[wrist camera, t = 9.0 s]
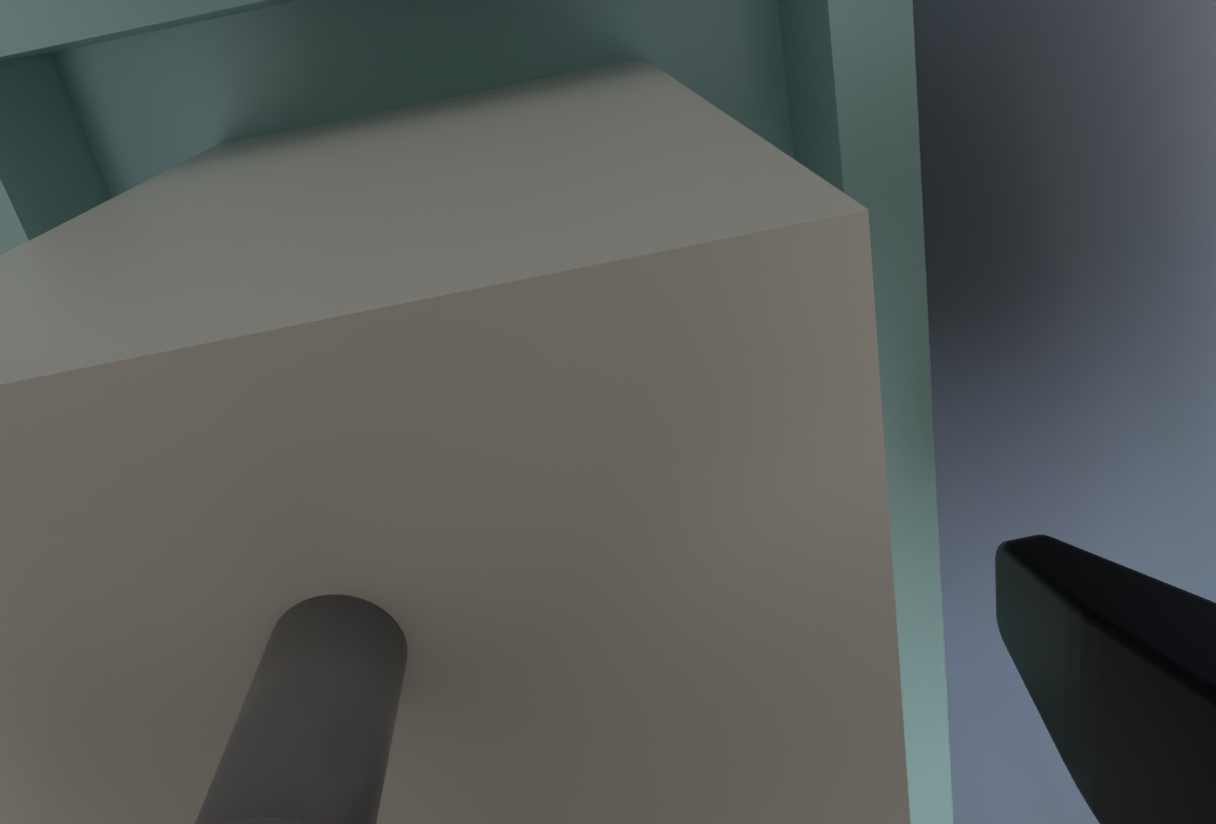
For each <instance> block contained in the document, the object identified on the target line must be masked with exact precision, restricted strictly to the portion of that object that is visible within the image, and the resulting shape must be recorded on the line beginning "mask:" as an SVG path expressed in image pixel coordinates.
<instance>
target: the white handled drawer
mask: <svg viewBox="0 0 1216 824" xmlns="http://www.w3.org/2000/svg"><path fill="white" fill-rule="evenodd" d="M0 824H911V822H910V808H909V793H908V779H907V764H906V750H905V735H904V721H903V706H902V692H901V677H900V663H899V648H898V634H897V619H896V605H895V590H894V576H893V561H892V546H891V532H890V517H889V503H888V488H887V474H886V459H885V445H884V430H883V416H882V401H881V387H880V372H879V358H878V343H877V329H876V314H875V300H874V285H873V271H872V256H871V242H870V227H869V213H868V209H867V208H866V207H864V206H863V205H861V204H860V203H858V202H857V201H855V200H854V199H852V198H851V197H849V196H848V195H846V194H845V193H843V192H842V191H840V190H839V189H837V188H836V187H834V186H833V185H831V184H830V183H828V182H827V181H825V180H824V179H822V178H821V177H820V176H818V175H817V174H815V173H814V172H812V171H811V170H809V169H808V168H806V167H805V166H803V165H802V164H800V163H799V162H797V161H796V160H794V159H793V158H791V157H790V156H788V155H787V154H785V153H784V152H782V151H781V150H779V149H778V148H776V147H775V146H773V145H772V144H771V143H769V142H768V141H766V140H765V139H763V138H762V137H760V136H759V135H757V134H756V133H754V132H753V131H751V130H750V129H748V128H747V127H745V126H744V125H742V124H741V123H739V122H738V121H736V120H735V119H733V118H732V117H730V116H729V115H727V114H726V113H724V112H723V111H722V110H720V109H719V108H717V107H716V106H714V105H713V104H711V103H710V102H708V101H707V100H705V99H704V98H702V97H701V96H699V95H698V94H696V93H695V92H693V91H692V90H690V89H689V88H687V87H686V86H684V85H683V84H681V83H680V82H678V81H677V80H675V79H674V78H673V77H671V76H670V75H668V74H667V73H665V72H664V71H662V70H661V69H659V68H658V67H656V66H655V65H653V64H652V63H650V62H649V61H647V60H646V59H644V58H639V59H634V60H629V61H624V62H620V63H615V64H610V65H605V66H600V67H595V68H590V69H585V70H580V71H576V72H571V73H566V74H561V75H556V76H551V77H546V78H541V79H536V80H531V81H527V82H522V83H517V84H512V85H507V86H502V87H497V88H492V89H487V90H483V91H478V92H473V93H468V94H463V95H458V96H453V97H448V98H443V99H439V100H434V101H429V102H424V103H419V104H414V105H409V106H404V107H399V108H394V109H390V110H385V111H380V112H375V113H370V114H365V115H360V116H355V117H350V118H346V119H341V120H336V121H331V122H326V123H321V124H316V125H311V126H306V127H302V128H297V129H292V130H287V131H282V132H277V133H272V134H267V135H262V136H257V137H253V138H248V139H243V140H238V141H233V142H228V143H223V144H218V145H216V146H214V147H212V148H210V149H208V150H206V151H204V152H202V153H200V154H198V155H196V156H194V157H192V158H190V159H188V160H186V161H184V162H182V163H181V164H179V165H177V166H175V167H173V168H171V169H169V170H167V171H165V172H163V173H161V174H159V175H157V176H155V177H153V178H151V179H149V180H147V181H145V182H143V183H141V184H139V185H137V186H135V187H134V188H132V189H130V190H128V191H126V192H124V193H122V194H120V195H118V196H116V197H114V198H112V199H110V200H108V201H106V202H104V203H102V204H100V205H98V206H96V207H94V208H92V209H90V210H88V211H87V212H85V213H83V214H81V215H79V216H77V217H75V218H73V219H71V220H69V221H67V222H65V223H63V224H61V225H59V226H57V227H55V228H53V229H51V230H49V231H47V232H45V233H43V234H41V235H39V236H38V237H36V238H34V239H32V240H30V241H28V242H26V243H24V244H22V245H20V246H18V247H16V248H14V249H12V250H10V251H8V252H6V253H4V254H2V255H0Z"/></svg>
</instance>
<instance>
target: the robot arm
mask: <svg viewBox="0 0 1216 824" xmlns="http://www.w3.org/2000/svg"><path fill="white" fill-rule="evenodd" d="M995 575H996V617H997V623H998V627H999V631H1000V634H1001V637H1002V639H1003V642H1004V644H1005V646H1006V648H1007V650H1008V652H1009V654H1010V656H1011V658H1012V660H1013V662H1014V664H1015V666H1016V668H1017V670H1018V672H1019V674H1020V676H1021V678H1022V680H1023V682H1024V684H1025V686H1026V688H1027V690H1028V692H1029V694H1030V696H1031V698H1032V700H1033V702H1034V704H1035V706H1036V708H1037V710H1038V712H1039V714H1040V716H1041V718H1042V720H1043V722H1044V724H1045V726H1046V728H1047V730H1048V732H1049V734H1050V736H1051V738H1052V740H1053V742H1054V744H1055V746H1056V748H1057V750H1058V752H1059V754H1060V756H1061V758H1062V760H1063V762H1064V763H1065V765H1066V767H1067V769H1068V771H1069V773H1070V775H1071V777H1072V779H1073V780H1074V782H1075V784H1076V786H1077V788H1078V789H1079V791H1080V793H1081V794H1082V796H1083V798H1084V799H1085V801H1086V803H1087V804H1088V806H1089V807H1090V809H1091V811H1092V812H1093V814H1094V815H1095V817H1096V819H1097V820H1098V822H1099V823H1100V824H1216V603H1215V602H1212V601H1210V600H1207V599H1205V598H1202V597H1200V596H1197V595H1195V594H1192V593H1190V592H1187V591H1185V590H1182V589H1180V588H1177V587H1175V586H1172V585H1170V584H1167V583H1165V582H1162V581H1160V580H1157V579H1155V578H1152V577H1150V576H1147V575H1145V574H1142V573H1140V572H1137V571H1135V570H1132V569H1130V568H1127V567H1125V566H1122V565H1120V564H1117V563H1115V562H1112V561H1110V560H1107V559H1105V558H1102V557H1100V556H1097V555H1095V554H1092V553H1090V552H1087V551H1085V550H1082V549H1080V548H1077V547H1075V546H1072V545H1070V544H1067V543H1065V542H1062V541H1060V540H1057V539H1055V538H1052V537H1050V536H1047V535H1034V536H1029V537H1024V538H1019V539H1014V540H1009V541H1005V542H1002V543H1001V545H1000V546H999V547H998V548H997V551H996V555H995Z"/></svg>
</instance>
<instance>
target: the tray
mask: <svg viewBox="0 0 1216 824" xmlns="http://www.w3.org/2000/svg"><path fill="white" fill-rule="evenodd" d="M639 58H644V59H646V60H647V61H649V62H650V63H652V64H653V65H655V66H656V67H658V68H659V69H661V70H662V71H664V72H665V73H667V74H668V75H670V76H671V77H673V78H674V79H675V80H677V81H678V82H680V83H681V84H683V85H684V86H686V87H687V88H689V89H690V90H692V91H693V92H695V93H696V94H698V95H699V96H701V97H702V98H704V99H705V100H707V101H708V102H710V103H711V104H713V105H714V106H716V107H717V108H719V109H720V110H722V111H723V112H724V113H726V114H727V115H729V116H730V117H732V118H733V119H735V120H736V121H738V122H739V123H741V124H742V125H744V126H745V127H747V128H748V129H750V130H751V131H753V132H754V133H756V134H757V135H759V136H760V137H762V138H763V139H765V140H766V141H768V142H769V143H771V144H772V145H773V146H775V147H776V148H778V149H779V150H781V151H782V152H784V153H785V154H787V155H788V156H790V157H791V158H793V159H794V160H796V161H797V162H799V163H800V164H802V165H803V166H805V167H806V168H808V169H809V170H811V171H812V172H814V173H815V174H817V175H818V176H820V177H821V178H822V179H824V180H825V181H827V182H828V183H830V184H831V185H833V186H834V187H836V188H837V189H839V190H840V191H842V192H843V193H845V194H846V195H848V196H849V197H851V198H852V199H854V200H855V201H857V202H858V203H860V204H861V205H863V206H864V207H866V208H867V209H868V213H869V227H870V242H871V256H872V271H873V285H874V300H875V314H876V329H877V343H878V358H879V372H880V387H881V401H882V416H883V430H884V445H885V459H886V474H887V488H888V503H889V517H890V532H891V546H892V561H893V576H894V590H895V605H896V619H897V634H898V648H899V663H900V677H901V692H902V706H903V721H904V735H905V750H906V764H907V779H908V793H909V808H910V822H911V824H953V806H952V786H951V766H950V745H949V725H948V705H947V685H946V665H945V644H944V624H943V604H942V584H941V564H940V544H939V523H938V503H937V483H936V463H935V443H934V422H933V402H932V382H931V362H930V342H929V321H928V301H927V281H926V261H925V241H924V220H923V200H922V180H921V160H920V140H919V119H918V99H917V79H916V59H915V39H914V18H913V0H0V255H2V254H4V253H6V252H8V251H10V250H12V249H14V248H16V247H18V246H20V245H22V244H24V243H26V242H28V241H30V240H32V239H34V238H36V237H38V236H39V235H41V234H43V233H45V232H47V231H49V230H51V229H53V228H55V227H57V226H59V225H61V224H63V223H65V222H67V221H69V220H71V219H73V218H75V217H77V216H79V215H81V214H83V213H85V212H87V211H88V210H90V209H92V208H94V207H96V206H98V205H100V204H102V203H104V202H106V201H108V200H110V199H112V198H114V197H116V196H118V195H120V194H122V193H124V192H126V191H128V190H130V189H132V188H134V187H135V186H137V185H139V184H141V183H143V182H145V181H147V180H149V179H151V178H153V177H155V176H157V175H159V174H161V173H163V172H165V171H167V170H169V169H171V168H173V167H175V166H177V165H179V164H181V163H182V162H184V161H186V160H188V159H190V158H192V157H194V156H196V155H198V154H200V153H202V152H204V151H206V150H208V149H210V148H212V147H214V146H216V145H218V144H223V143H228V142H233V141H238V140H243V139H248V138H253V137H257V136H262V135H267V134H272V133H277V132H282V131H287V130H292V129H297V128H302V127H306V126H311V125H316V124H321V123H326V122H331V121H336V120H341V119H346V118H350V117H355V116H360V115H365V114H370V113H375V112H380V111H385V110H390V109H394V108H399V107H404V106H409V105H414V104H419V103H424V102H429V101H434V100H439V99H443V98H448V97H453V96H458V95H463V94H468V93H473V92H478V91H483V90H487V89H492V88H497V87H502V86H507V85H512V84H517V83H522V82H527V81H531V80H536V79H541V78H546V77H551V76H556V75H561V74H566V73H571V72H576V71H580V70H585V69H590V68H595V67H600V66H605V65H610V64H615V63H620V62H624V61H629V60H634V59H639Z"/></svg>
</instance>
